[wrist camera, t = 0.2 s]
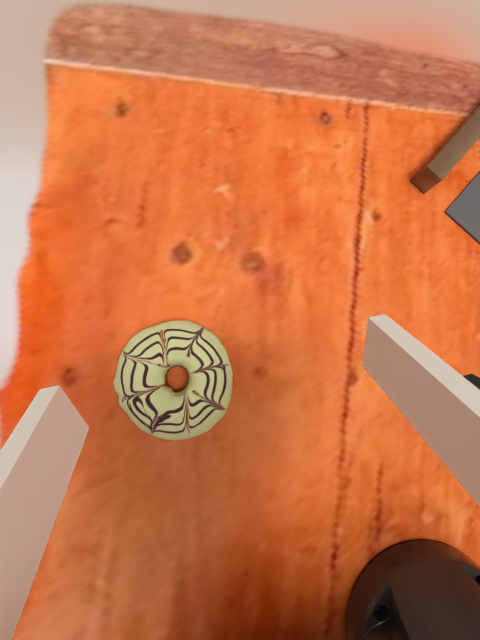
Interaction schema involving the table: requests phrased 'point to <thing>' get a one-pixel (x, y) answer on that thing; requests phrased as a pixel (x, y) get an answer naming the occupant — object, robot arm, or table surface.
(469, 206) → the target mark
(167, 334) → the decorated donut
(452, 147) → the rail
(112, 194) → the table surface
